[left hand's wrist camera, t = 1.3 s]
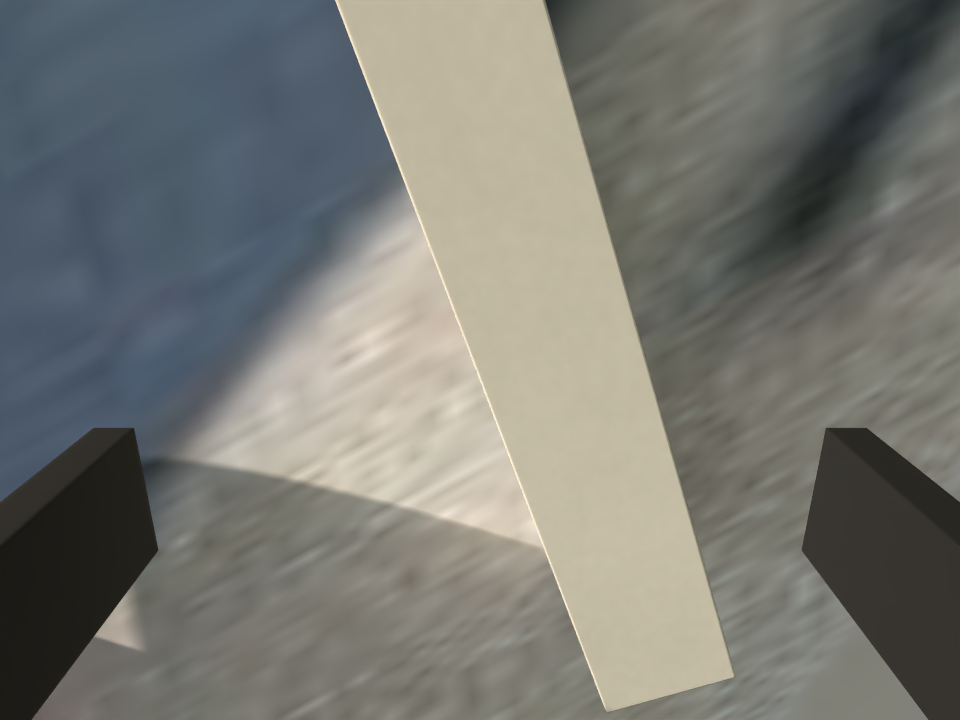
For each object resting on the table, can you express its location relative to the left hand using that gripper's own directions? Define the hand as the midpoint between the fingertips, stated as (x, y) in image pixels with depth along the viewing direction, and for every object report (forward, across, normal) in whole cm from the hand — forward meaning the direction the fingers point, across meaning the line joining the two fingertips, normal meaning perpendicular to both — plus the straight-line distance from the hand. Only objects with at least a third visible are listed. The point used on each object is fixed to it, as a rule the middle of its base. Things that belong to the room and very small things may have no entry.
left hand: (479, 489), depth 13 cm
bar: (+17, +3, -14) cm, 23 cm away
